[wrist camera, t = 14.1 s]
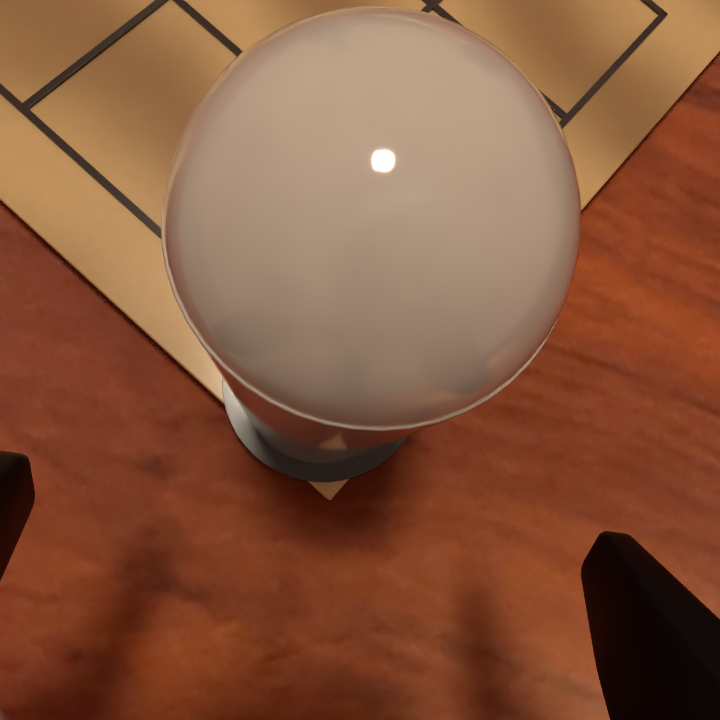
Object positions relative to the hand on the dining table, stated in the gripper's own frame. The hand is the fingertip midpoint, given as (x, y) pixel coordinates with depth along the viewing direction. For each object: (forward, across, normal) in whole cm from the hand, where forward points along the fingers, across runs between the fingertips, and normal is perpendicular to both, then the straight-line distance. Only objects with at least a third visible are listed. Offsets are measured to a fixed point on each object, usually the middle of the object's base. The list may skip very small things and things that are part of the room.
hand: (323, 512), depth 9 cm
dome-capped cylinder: (+8, 0, +3) cm, 8 cm away
